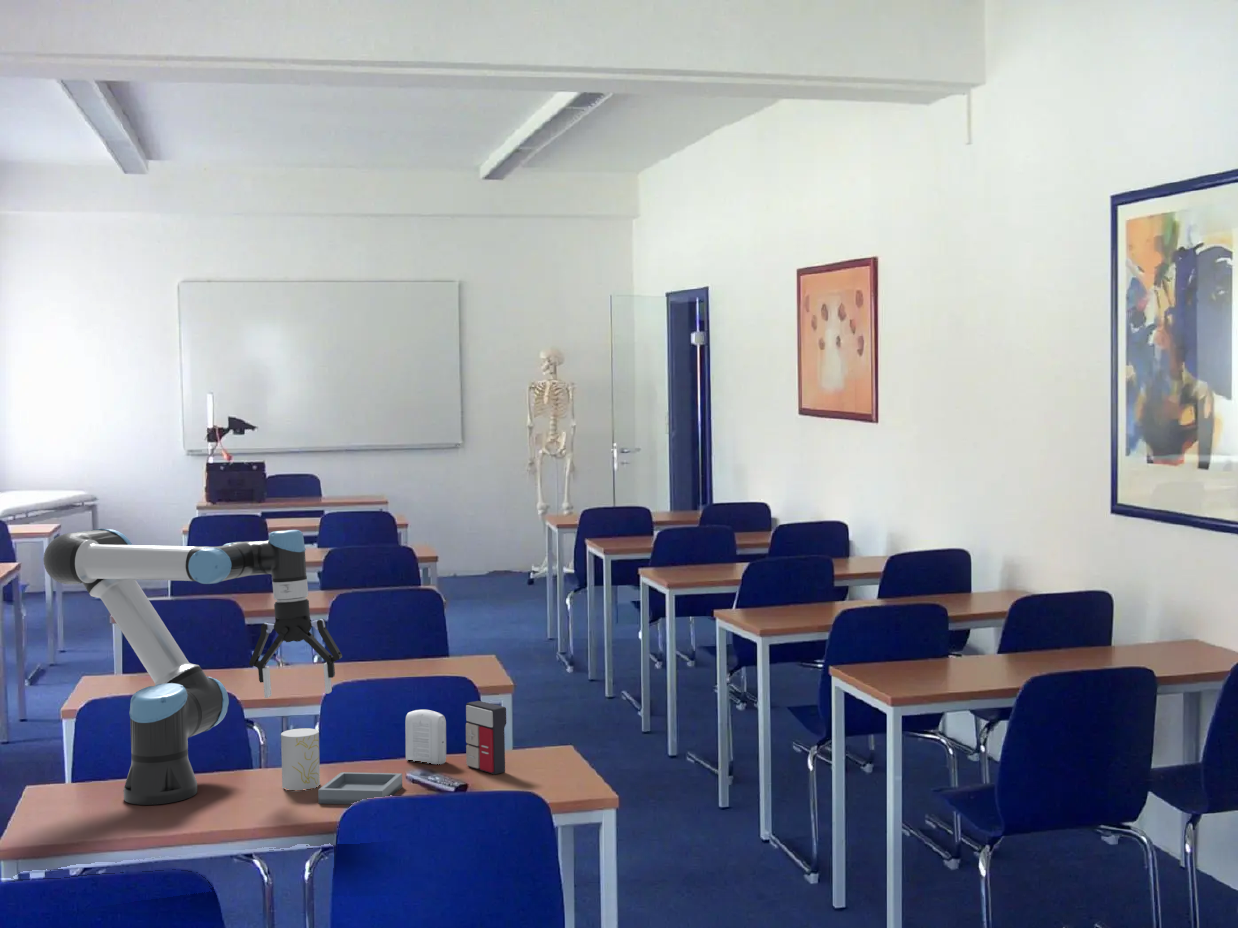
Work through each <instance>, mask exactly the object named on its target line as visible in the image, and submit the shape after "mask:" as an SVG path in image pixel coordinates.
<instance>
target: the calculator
mask: <svg viewBox="0 0 1238 928" xmlns="http://www.w3.org/2000/svg"><path fill="white" fill-rule="evenodd" d="M465 718H466V719H465V720H466V723H465V743H466V745H465V748H466V749H465V750H466V751H465V752H466V753H465V754H466V755H465V759H466V760H465V761H466V762H465V763H466V765H467V767H469V768H472V769H476V770H478V771H482V772H485V773H488V774H491V775H495V776H496V775H499V774H502V773H505V772H506V749H505V748H506V747H505V745H506V743H505V742H506V741H505V738H506V737H505V735H506V734H505V728H506V725H507V708H506V706H503V705H498V704H493V703H489V702H486V701H480V700H476V701H470V702H467V703H466V704H465Z"/></svg>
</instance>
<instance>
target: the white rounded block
mask: <svg viewBox="0 0 1238 928" xmlns="http://www.w3.org/2000/svg"><path fill="white" fill-rule="evenodd" d="M404 723H405V727H404V729H405V731H404V732H405V760H406V761H408V760H413V761H412V762H415V761H421V762H420V763H422V762H427V763H426V764H429V763H431V764H432V765H437V764H438V765H439V764H440V765H444V764H445V763H446V761H447V721H446V717H445V715H444V714H442V713H440V712H437V711H434V710H430V709H415V710H412V711H409V712H407V714H406V715H405V722H404ZM438 765H437V766H438ZM440 765H439V766H440Z"/></svg>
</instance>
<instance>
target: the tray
mask: <svg viewBox="0 0 1238 928" xmlns="http://www.w3.org/2000/svg"><path fill="white" fill-rule="evenodd" d="M402 788H403V773H398V772H397V773H394V772H392V773H391V772H356V771H355V772H354V771H353V772H351V771H350V772H349V771H348V772H347V771H346V772H345V771H343V772H342V771H341V772H340V773H338V774H337V775H336V776H334V777H333V778H332V779H330V780H329V781H328V782H326V783H325V784H323V786H321V787H320V788H319V789H317V790H318V792H317V793H318V804H321V805H323V804H324V805H352V804H351V803H354V802H357V801H360V800H362V799H367V798H374V797H385V796H390V795H393V796H394V795H395V794H396V793H398V792H399V790H401V789H402Z"/></svg>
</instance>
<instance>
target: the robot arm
mask: <svg viewBox="0 0 1238 928" xmlns="http://www.w3.org/2000/svg"><path fill="white" fill-rule="evenodd" d="M306 551H307V549H306V546H305V539H304V534H303V532H302V531H301V530H299V529H287V530H276V531H272V532H270V533H268V540H259V541H258V540H257V541H256V540H255V541H235V542H229V543H228V542H227V543H225V544H223V545H219V546H184V545H182V546H181V545H142V544H141V545H139V544H137V545H136V544H132V542H131V540H130V538H128V537H127V536H126V535H125V534H124V533H122V532H120V531H118V530H115V529H112V528H111V529H110V528H96V529H91V530H86V531H78V532H68V533H64V534H61V535H59V536H56V537H55V538H54V539H52V540H51V541H50V542H49V543H48V544H47V546H46V548H45V550H44V553H43V558H42V560H43V565H44V569H45V572H46V573H47V574H48V575H49V577H50V578H51V579H53V580H54V581H56V582H58V583H60V584H63V585H79V584H82V585H83V586H84V588H85V590H86V591H87V593H88V594H89V595H90V597H94V598H98V599H100V600H101V601H102V603H103V604H104V606H105V607H106V609H107V610H108V611H107V612H108V613H109V614H110V615H111V617H112V618H113V620H114V622H115V623H116V624H117V626H118V628H119V629H120V631H121V632H122V634H123V636H124V637H125V639H126V640H127V641H128V642H127V643H128V644H129V645H130V646H131V648H132V650H133V652H134V653H135V655H136V656H137V657H138V659H139V661H140V663H141V664H142V665H143V667H144V669H145V670H146V672H147V673H148V675H149V677H150V678H151V680H152V682H154V685H150V686H146V687H143V688H140V689H139V690H137V691H136V692H135V693H133V694H132V696H131V699H130V705H129V706H130V708H129V713H128V714H129V717H130V718H129V719H130V720H129V723H130V748H131V749H130V750H131V762H130V763H131V764H130V767H129V771H128V774H127V777H126V781H125V784H124V787H123V801H125V803H129V804H131V805H141V806H151V805H153V806H154V805H164V804H171V803H177V802H180V801H184V800H187V799H190V798H192V797H194V796H196V794H197V793H198V782H197V778H196V776H195V773H194V770H193V767H192V764H191V762H190V760H189V751H188V750H189V744H188V743H189V742H188V739H189V738H192V737H194V736H196V735H199V734H201V733H205V732H208V731H210V730H212V728H215V727H216V726H217V725H218V724H220V723H221V722H222V721H223V720H224V719H225V717H226V714H227V713H228V707H229V702H230V701H229V694H228V692H227V689H226V687H225V686H224V684H223V682H221V681H220V680H219V679H217V678H214V677H212V676H207V675H206V674H205V672H204V670H203V669H202V668H201V666H200V665H199V664H194V663H191V662H189V660H188V659H187V658H186V655H185V653H184V652H183V651H182V649H181V648H180V646H179V644H178V643H177V642H176V640H175V638H174V637H173V636H172V634H171V632H170V631H169V630H168V628H167V626H166V625H165V623H164V621H163V620H162V618H161V617H160V615H159V614H158V612H157V610H156V609H155V608H154V606H153V604H152V603H151V601H150V600H149V598H148V596H147V595H146V593H145V592H144V591H143V589H142V587H141V586H140V584H139V583H138V580H140V581H141V580H142V581H181V582H182V581H183V582H184V581H185V582H187V581H188V582H197V583H200V584H201V585H202V584H203V585H210V584H211V585H213V584H218V583H221V582H224V581H228V580H233V579H239V578H244V577H248V576H259V575H271V578H272V580H271V581H272V582H271V583H272V593H273V599H274V601H275V600H276V601H275V602H274V603H273V604H274V605H273V606H274V617H275V618H274V619H275V620H274V623H270V622H267V621H266V622H264V623H262V624H261V625H260V636H259V637H258V640H257V642H256V645H255V647H254V651H253V652H252V655H251V657H250V659H249V662H248V665H249V666H250V667H255V668H257V671H258V681H259V683H263V693H264V699H267V698H268V699H269V698H270V697H272V682H271V668H270V666H267V664H268V662H269V661H270V660H271V658H272V657H273V656H274V654H275V653H276V652H277V650H278V649H279V647H280V646H281V645H282V644H283V642H285V643H291V642H296V643H298V642H302V641H304V642H306V643H307V644H308V645H309V646H310V647H311V648H312V649H313V650H314V651H315V652H316V653H317V654H318V655H319V656H320V658H322V659H323V660H324V662H325V663H324V664H323V676H324V677H323V678H324V679H323V680H324V691H325V694H331V693H332V691H333V690H332V689H333V687H332V679H333V678H334V677H335V675H336V671H335V670H336V669H335V667H336V666H335V662H337V661H339V660H341V658H343V654H342V652H341V651H340V649H339V647H338V645H337V644H336V641H334V638H333V637H332V636H331V633H330V632H329V630H328V629H327V625H326V620H325V619H324V618H320V619H318V620H317V619H316V620H313V621H312V619H311V612H310V601H309V600H308V599H307V598H308V597H309V587H308V586H309V585H308V578H307V577H308V575H307V566H306V564H307V563H306V562H307V561H306ZM313 627H314V628H315V630H316V631H318V633H319V635H320V636H321V639H322V640H323V642H324V644H325V646H326V647H327V648H328V650H329V651H330V652H329V651H328V650H327V648H326V647H324V646H323V644H321V643H320V642H319V641H318V640H317V638H315V635H313V634H312V633H311V632H310V631H311V629H312V628H313ZM273 630H274V631H275V633H276V634H277V636H276V637H275V639H274V641H273V642H272V643H271V646H270V647H269V648H268V650H267V651H266V652H265V653H264V655H263V656H262V657H261V655H262V653H263V650H264V647H265V645H266V642H267V640H268V638H269V635H270V634H271V633H272V631H273ZM260 658H261V659H260Z"/></svg>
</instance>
